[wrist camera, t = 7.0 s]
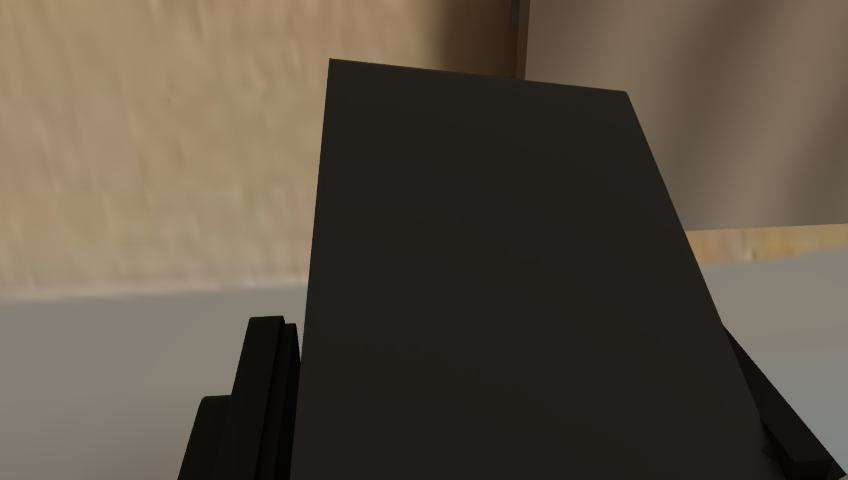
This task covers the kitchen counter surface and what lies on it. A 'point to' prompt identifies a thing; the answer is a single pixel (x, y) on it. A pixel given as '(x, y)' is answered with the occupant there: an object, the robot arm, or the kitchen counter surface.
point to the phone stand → (507, 294)
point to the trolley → (715, 96)
